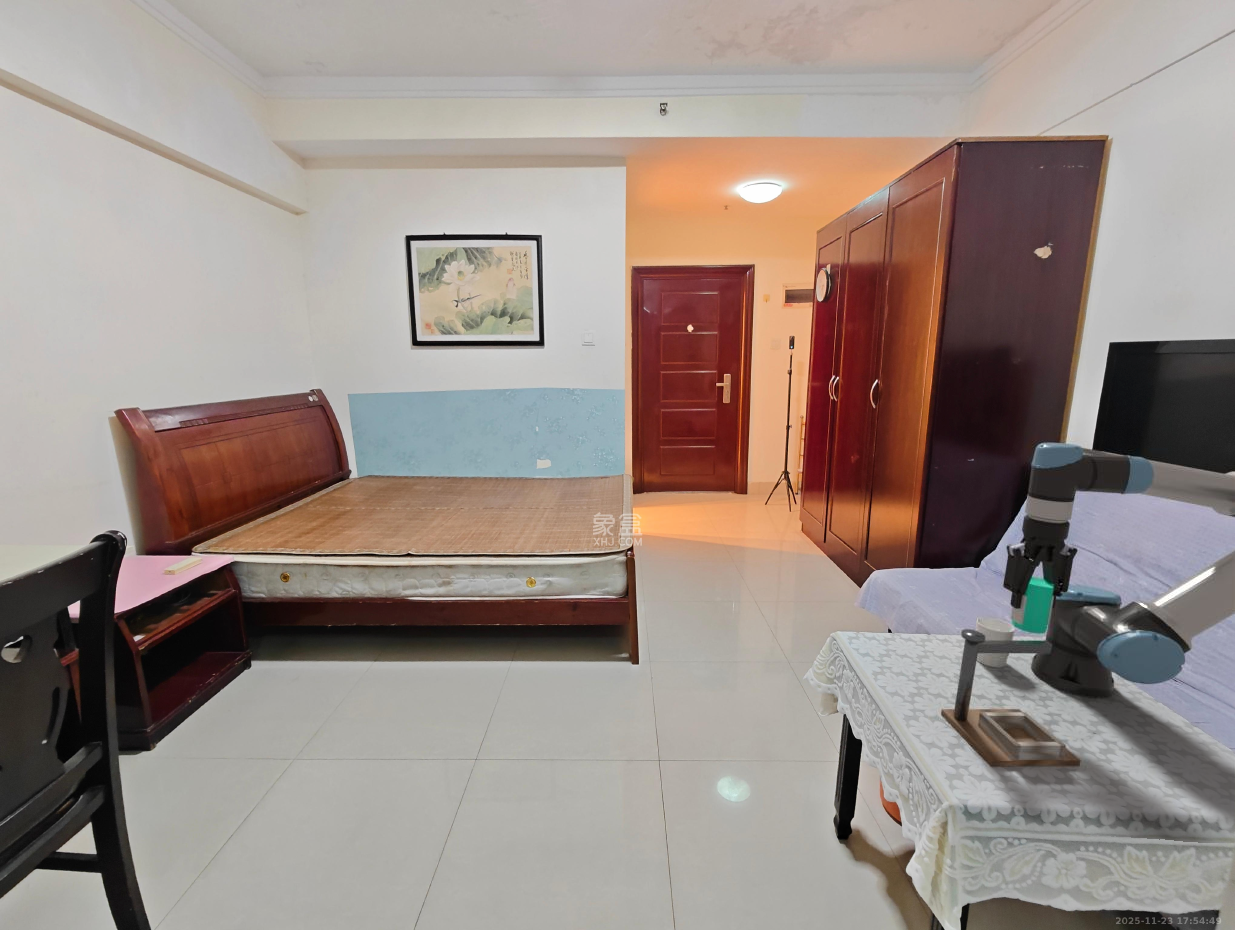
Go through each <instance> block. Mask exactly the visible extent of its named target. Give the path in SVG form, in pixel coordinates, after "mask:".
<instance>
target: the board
mask: <svg viewBox="0 0 1235 930" xmlns="http://www.w3.org/2000/svg"><path fill="white" fill-rule="evenodd" d="M954 709H955V708H950V709H949V708H948V709H947V708H941V712H940V716H942V717H943V718H944V719H945V720H946V722H948V723H949V724H950V725H951V726H952V727H953V728H954V730H956V731H957V732H958V733H959V734H960V736H961V737H962V738H963V739H964V740H965V741H966V743H968V744H969V745H970V746H971V748H973V750H975V752H976V753H978V754H979V756H980V757H981V758H982V759H983V760H984V761H985V762H986V763H987V764H988V765H989V766H990V767H1080V766H1081V761H1082V760H1081V759H1080V758H1079V757H1077V756H1076V755H1075V754H1074V753H1073V752H1071V751H1070V750H1069V749H1068V748H1067V745H1066V744H1065V743H1064V742H1062V741H1061V740H1060V739H1059V738H1057V737H1056V736H1055V735H1054V734H1053V733H1052V732H1051V731H1050V730H1048V729H1046V727H1044V726H1043V725H1042V724H1041V723H1039V721H1037V720H1036V719H1034V717H1032V716H1031V715H1030V714H1028V713H1027V712H1024V711H1022V710H1021V709H1019V708H1016V709H1015V708H1008V709H1005V708H1004V709H1003V708H999V709H996V708H991V709H990V708H988V709H987V708H976V709H975V708H970V709H969V711H968V717H967V720H966V721H961V720H958V719H956V718H955V717H954Z"/></svg>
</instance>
